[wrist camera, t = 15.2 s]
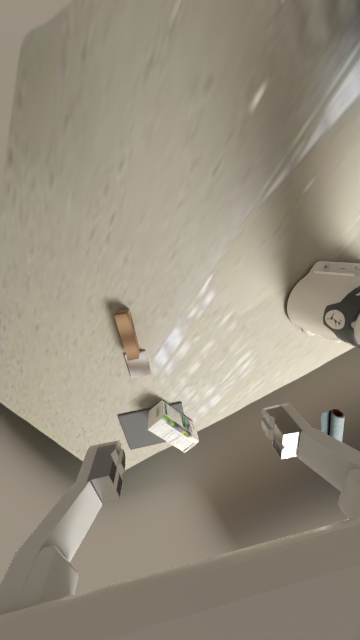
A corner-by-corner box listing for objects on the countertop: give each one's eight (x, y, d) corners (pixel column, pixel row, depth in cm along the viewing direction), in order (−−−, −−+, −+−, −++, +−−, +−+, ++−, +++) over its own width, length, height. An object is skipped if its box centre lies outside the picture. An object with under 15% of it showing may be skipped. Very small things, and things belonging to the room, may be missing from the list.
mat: (181, 401, 49) (181, 403, 49) (187, 435, 54) (187, 436, 53) (118, 415, 48) (118, 416, 47) (131, 447, 53) (130, 449, 52)
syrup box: (162, 399, 47) (196, 422, 52) (147, 411, 48) (182, 434, 53) (162, 416, 42) (200, 441, 47) (146, 430, 43) (185, 453, 47)
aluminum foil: (334, 447, 67) (342, 457, 64) (318, 453, 67) (326, 462, 64) (337, 407, 59) (347, 415, 56) (319, 413, 59) (328, 422, 56)
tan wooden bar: (112, 311, 38) (108, 316, 35) (134, 307, 38) (132, 312, 35) (132, 376, 44) (129, 386, 41) (151, 372, 45) (150, 382, 41)
